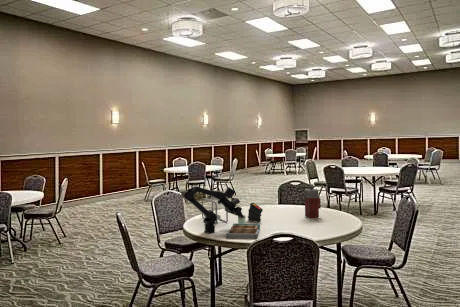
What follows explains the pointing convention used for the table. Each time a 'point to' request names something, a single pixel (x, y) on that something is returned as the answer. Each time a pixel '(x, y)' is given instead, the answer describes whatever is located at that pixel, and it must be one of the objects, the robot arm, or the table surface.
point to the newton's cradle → (216, 209)
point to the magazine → (254, 213)
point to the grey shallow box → (242, 235)
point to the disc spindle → (241, 220)
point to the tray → (245, 228)
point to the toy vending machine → (312, 202)
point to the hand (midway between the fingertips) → (240, 216)
